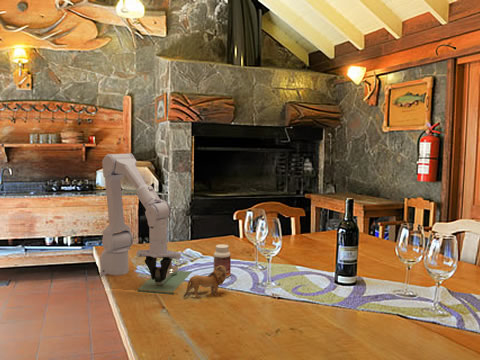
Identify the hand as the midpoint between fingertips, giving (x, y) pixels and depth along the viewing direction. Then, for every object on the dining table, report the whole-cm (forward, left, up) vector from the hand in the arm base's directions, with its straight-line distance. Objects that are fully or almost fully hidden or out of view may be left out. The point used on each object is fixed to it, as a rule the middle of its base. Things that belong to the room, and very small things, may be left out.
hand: (158, 279), depth 146 cm
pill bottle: (+18, +18, -3) cm, 25 cm away
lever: (0, +8, -2) cm, 8 cm away
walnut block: (-3, +15, -2) cm, 15 cm away
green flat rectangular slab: (+1, +6, -3) cm, 7 cm away
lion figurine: (+17, -2, -3) cm, 17 cm away
